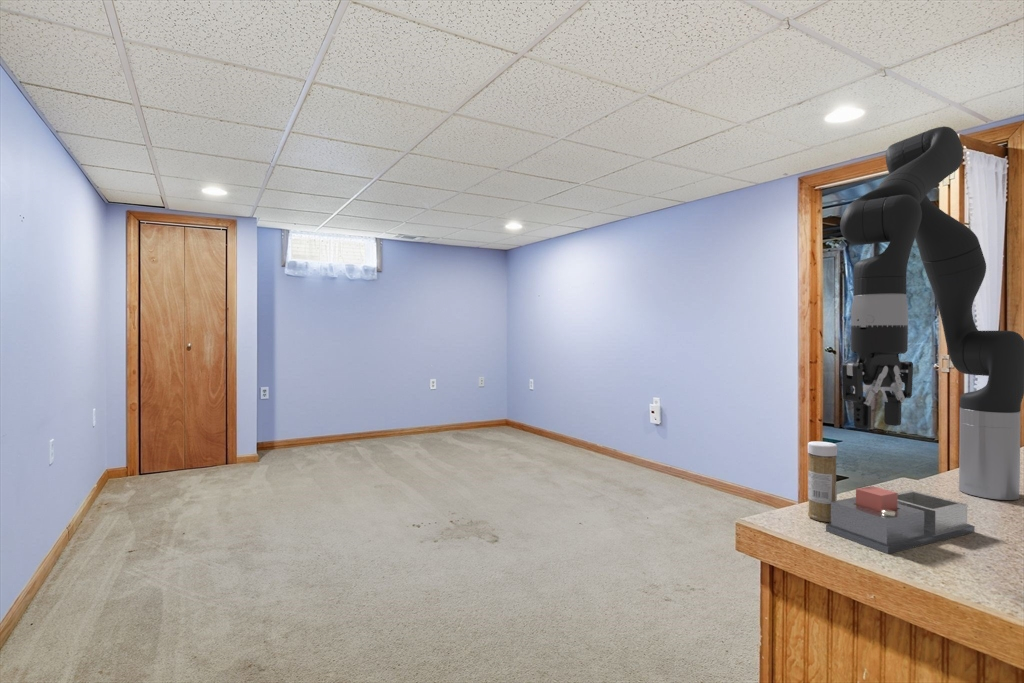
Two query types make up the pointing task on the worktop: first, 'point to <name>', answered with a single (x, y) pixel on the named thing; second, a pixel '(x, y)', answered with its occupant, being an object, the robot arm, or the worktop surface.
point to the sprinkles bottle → (821, 479)
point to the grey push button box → (900, 522)
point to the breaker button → (876, 498)
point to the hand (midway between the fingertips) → (877, 426)
